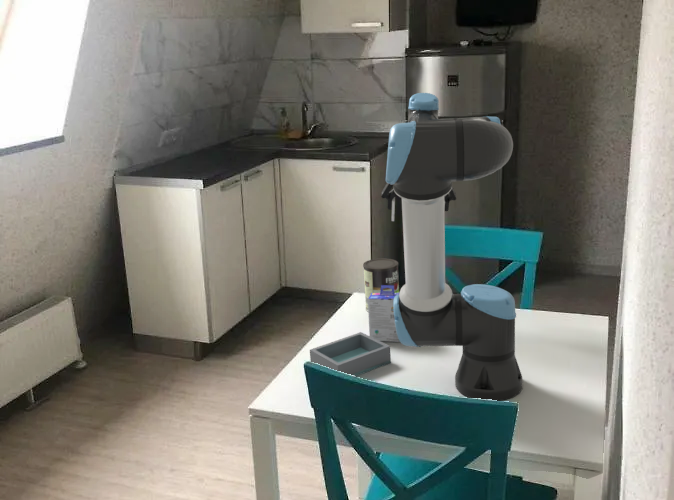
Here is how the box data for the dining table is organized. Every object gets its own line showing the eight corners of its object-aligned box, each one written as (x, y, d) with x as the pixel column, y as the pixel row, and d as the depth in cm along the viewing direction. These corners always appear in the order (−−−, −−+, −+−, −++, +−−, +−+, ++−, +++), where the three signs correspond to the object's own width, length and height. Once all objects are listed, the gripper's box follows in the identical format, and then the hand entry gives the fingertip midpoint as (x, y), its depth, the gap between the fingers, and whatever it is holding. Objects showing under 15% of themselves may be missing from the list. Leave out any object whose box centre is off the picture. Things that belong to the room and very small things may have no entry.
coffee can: (406, 305, 221) (405, 260, 216) (387, 317, 213) (385, 271, 209) (378, 299, 227) (376, 256, 223) (358, 310, 219) (356, 265, 215)
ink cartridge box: (408, 334, 200) (406, 284, 196) (406, 342, 195) (404, 291, 191) (372, 333, 202) (370, 283, 198) (369, 341, 197) (366, 290, 193)
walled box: (390, 362, 184) (390, 346, 183) (338, 382, 175) (337, 365, 174) (361, 347, 194) (360, 332, 192) (310, 366, 185) (309, 349, 184)
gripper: (468, 146, 196) (461, 213, 208) (374, 143, 198) (373, 210, 210) (470, 159, 190) (463, 228, 202) (373, 157, 192) (372, 225, 204)
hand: (417, 219), depth 206 cm, fingers open, 13 cm apart
